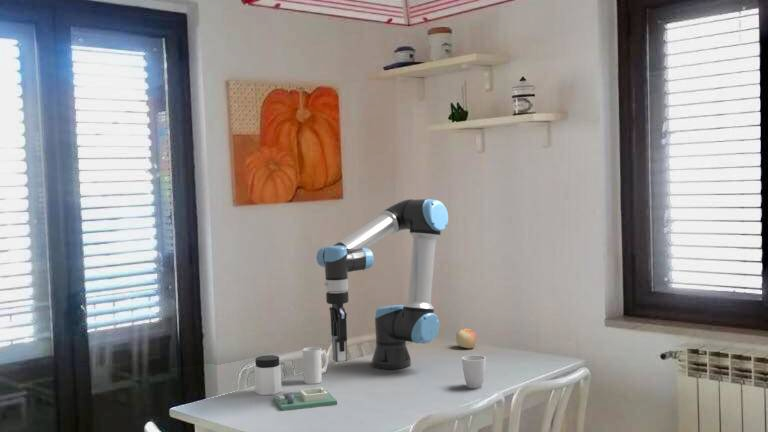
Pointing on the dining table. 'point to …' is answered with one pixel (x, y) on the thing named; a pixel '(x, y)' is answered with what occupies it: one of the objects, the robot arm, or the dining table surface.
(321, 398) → the board
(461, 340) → the apple
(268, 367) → the jar
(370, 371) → the dining table surface
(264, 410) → the dining table surface
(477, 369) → the cup
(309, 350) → the mug
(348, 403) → the dining table surface
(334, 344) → the plug
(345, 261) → the robot arm
